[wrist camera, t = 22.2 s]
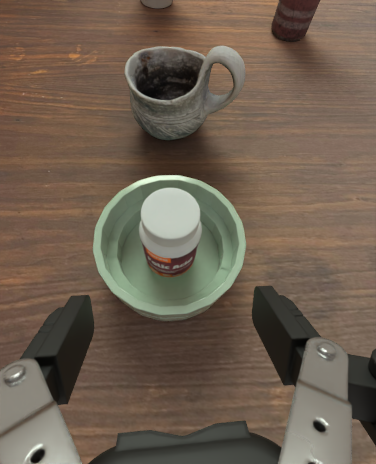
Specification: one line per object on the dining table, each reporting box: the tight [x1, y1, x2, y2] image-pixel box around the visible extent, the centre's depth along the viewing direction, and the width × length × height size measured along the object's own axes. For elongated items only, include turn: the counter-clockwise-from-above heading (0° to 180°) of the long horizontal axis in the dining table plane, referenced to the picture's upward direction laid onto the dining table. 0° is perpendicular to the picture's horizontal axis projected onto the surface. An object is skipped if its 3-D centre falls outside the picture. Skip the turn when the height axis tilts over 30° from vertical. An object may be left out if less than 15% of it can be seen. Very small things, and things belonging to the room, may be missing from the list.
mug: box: [125, 46, 245, 140], centre depth 28 cm, size 10×12×10 cm
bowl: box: [93, 175, 246, 321], centre depth 22 cm, size 12×12×5 cm
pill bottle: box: [139, 188, 202, 278], centre depth 20 cm, size 5×5×8 cm
